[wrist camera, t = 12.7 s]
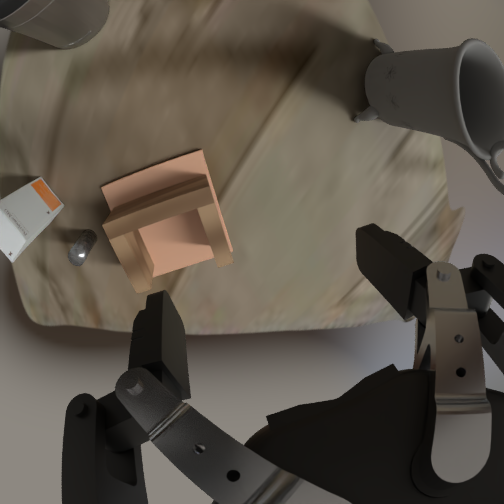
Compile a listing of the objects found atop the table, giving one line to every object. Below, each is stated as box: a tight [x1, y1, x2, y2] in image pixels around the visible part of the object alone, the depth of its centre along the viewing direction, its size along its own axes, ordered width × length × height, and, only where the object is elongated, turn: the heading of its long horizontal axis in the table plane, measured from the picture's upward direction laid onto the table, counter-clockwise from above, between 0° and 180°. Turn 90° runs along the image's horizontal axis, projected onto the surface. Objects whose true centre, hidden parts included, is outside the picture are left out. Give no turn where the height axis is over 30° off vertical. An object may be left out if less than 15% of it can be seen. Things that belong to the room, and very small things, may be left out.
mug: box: [354, 38, 504, 195], centre depth 24 cm, size 19×15×25 cm
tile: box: [101, 149, 233, 277], centre depth 37 cm, size 15×14×1 cm
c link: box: [102, 174, 234, 294], centre depth 34 cm, size 10×13×6 cm
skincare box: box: [0, 177, 64, 262], centre depth 26 cm, size 6×4×12 cm
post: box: [68, 230, 97, 266], centre depth 33 cm, size 2×2×6 cm
